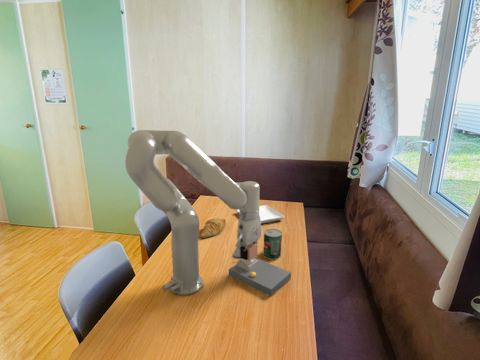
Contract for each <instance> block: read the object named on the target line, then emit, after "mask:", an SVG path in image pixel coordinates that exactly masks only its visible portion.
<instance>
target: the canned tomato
mask: <svg viewBox="0 0 480 360" xmlns="http://www.w3.org/2000/svg"><path fill="white" fill-rule="evenodd" d="M282 236H283V232H282V231H281V230H280V229H278V228H277V229H276V228H268V229H265V230H264V231H263V251H262V252H263V257H264V258H266V259H268V260H278V259H280V258H281V256H282V254H281V253H282V239H283V237H282Z"/></svg>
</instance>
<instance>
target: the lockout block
mask: <svg viewBox="0 0 480 360" xmlns="http://www.w3.org/2000/svg"><path fill="white" fill-rule="evenodd" d="M244 246H245V245H244V244H243V247H244ZM247 251H248V259H247V260H248V261H250V260H252V259H253V258H257V257H258V243H257V244H254V243H251V244H249V245H247Z"/></svg>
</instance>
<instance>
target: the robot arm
mask: <svg viewBox="0 0 480 360" xmlns="http://www.w3.org/2000/svg"><path fill="white" fill-rule="evenodd" d="M127 147H128V148H127V152H126V154H125V155H126V156H125V162H124V163H125V168H126V169H125V170H126V173H127V174H128V176H129V179H131V181H132V182H133V183H134V185H136V186H137V187H138V189H139V191H141V193H143V194H144V196H145V197H146V198H147V199H148V200H149V201H150V203H151V204H152V205H153V206H154V208H156V209H157V210H159V211H161V212H163V213H164V214H165V215H166V217H167V219H168V221H169V224H170V227H171V243H170V244H171V258H172V259H171V260H172V262H171V263H172V276H171V277H170V280H169V281H168V282H167V283H166V284H165V285H162V290H163V292H166V291H168V290H169V291H170V292H171V293H174V294H175V295H176V294H177V295H180V296H188V295H193V294H196V293H198V292H199V291H200V290H202V289H203V286H204V279H203V277H202V276H201V275H200V269H199V268H200V264H199V260H200V258H199V232H200V218H199V216H198V213H197V211H196V210H195V208H194V207H193V205H192V204H191V203H190V202H189V200H188V199H187V198H186V197H185V195H183V193H181V191H180V190H179V189H178V188H177V186H176V185H175V183H173V181H171V179H169V178H167V177H165V176H164V175H163V174H162V172H161V171H160V169H158V168H157V166H156V165H155V156H156V155H169V156H170V157H171V158H172V159H173V160H174V161H176V162H177V163H178V164H179V165H180V166H181V167H182V168H183V169H184V170H186V171H187V172H188V174H190V175H191V176H192V177H193V178H194V179H196V180H197V181H198V182H199V183H200V184H202V185H203V186H204V187H205V188H207V189H208V190H210V192H212V193H213V194H214V195H215V196H216V197H217V198H218V199H220V201H222V202H223V203H224V204H225V205H226V206H227V207H228V208H230V209H232V210H236V211H237V210H238V209H239V213H238V214H239V215H238V216H239V219H238V223H237V230H236V231H237V233H236V234H237V236H236V244H235V247H236V248H237V247H238V248H239V249H240V257H241V258H242V259H245V260H247V259H248V251H247V245H249V244H251V243H254V244H257V245H258V240H259V239H260V238H261V237H262V224H261V220H260V215H259V206H260V191H261V190H260V188H261V187H260V184H259V183H258V182H256V181H252V180H248V181H247V180H246V181H243V182H242V181H241V182H236V181H234V180H233V179H231V177H229V176H228V174H226V173H225V172H224V171H223V170H222V169H221V167H220V166H218V164H217V163H216V162H214V160H213V159H212V158H211V157H210V156H208V155H207V154H206V153H205V152H204V151H203V150H202V149H201V148H200V147H199V146H198V145H197V144H196V143H195V142H194V141H193V140H192V139H191V138H190V137H189V136H188V135H186V134H184V133H183V132H181V131H178V130H157V129H156V130H154V129H151V130H150V129H147V130H146V129H139V130H135V131H134V132H132V133H131V134H130V135H129V136H128V139H127ZM243 244H244V245H245V246H244V247H243ZM241 258H240V259H241Z"/></svg>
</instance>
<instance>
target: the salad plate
mask: <svg viewBox="0 0 480 360" xmlns="http://www.w3.org/2000/svg"><path fill="white" fill-rule="evenodd" d="M236 212H237V213H238V214H239V209H238V210H236ZM259 215H260V220H261V225H263V224H265V223H267V224H268V223H273V222H275V221H280V220H283V219H284V218H285V215H284V214H281V213H280V212H279V211H277V210H275V209H274V208H272V207H271V206H269V205H267V204H265V205H259Z"/></svg>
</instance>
